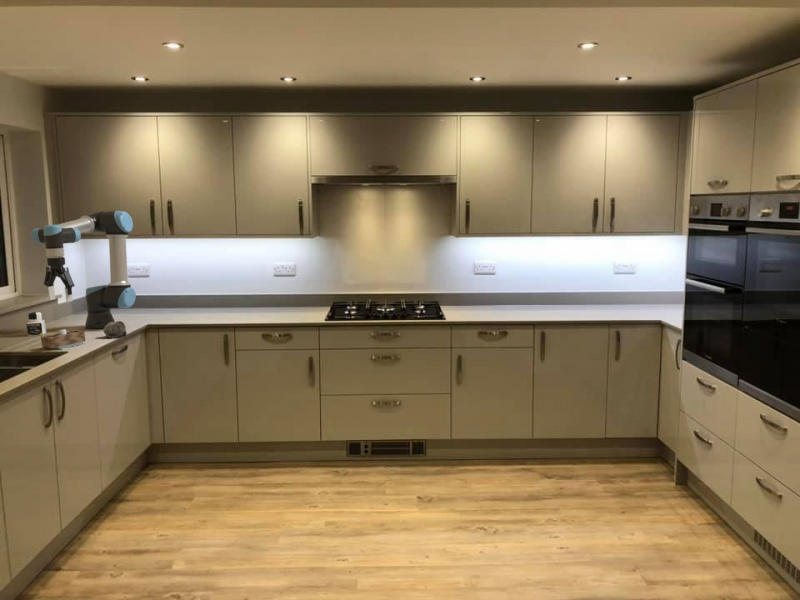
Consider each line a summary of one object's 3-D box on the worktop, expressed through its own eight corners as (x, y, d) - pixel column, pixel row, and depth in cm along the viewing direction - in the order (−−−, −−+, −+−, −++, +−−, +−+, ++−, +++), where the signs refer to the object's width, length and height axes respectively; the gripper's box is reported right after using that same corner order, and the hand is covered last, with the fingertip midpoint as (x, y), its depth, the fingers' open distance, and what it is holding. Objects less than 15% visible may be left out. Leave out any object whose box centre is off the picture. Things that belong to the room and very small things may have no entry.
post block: (68, 342, 306) (66, 326, 304) (83, 344, 300) (81, 328, 299) (44, 347, 295) (42, 331, 294) (59, 349, 289) (57, 333, 288)
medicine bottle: (27, 336, 322) (25, 314, 320) (31, 333, 329) (29, 311, 327) (42, 335, 324) (40, 313, 322) (46, 332, 331) (44, 311, 329)
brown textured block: (75, 339, 307) (74, 330, 306) (85, 341, 303) (84, 331, 302) (42, 346, 292) (40, 336, 291) (52, 348, 288) (51, 338, 287)
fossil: (105, 338, 309) (102, 320, 312) (104, 344, 317) (101, 326, 319) (128, 335, 315) (125, 317, 317) (127, 340, 322) (123, 323, 325)
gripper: (79, 257, 290) (84, 300, 294) (47, 255, 302) (52, 297, 306) (64, 258, 284) (69, 303, 287) (32, 257, 296) (37, 300, 299)
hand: (60, 300), depth 297 cm, fingers open, 13 cm apart
